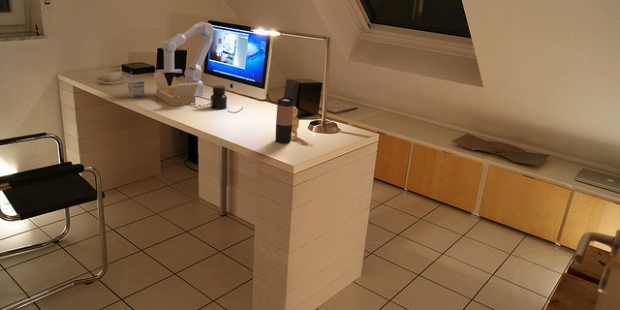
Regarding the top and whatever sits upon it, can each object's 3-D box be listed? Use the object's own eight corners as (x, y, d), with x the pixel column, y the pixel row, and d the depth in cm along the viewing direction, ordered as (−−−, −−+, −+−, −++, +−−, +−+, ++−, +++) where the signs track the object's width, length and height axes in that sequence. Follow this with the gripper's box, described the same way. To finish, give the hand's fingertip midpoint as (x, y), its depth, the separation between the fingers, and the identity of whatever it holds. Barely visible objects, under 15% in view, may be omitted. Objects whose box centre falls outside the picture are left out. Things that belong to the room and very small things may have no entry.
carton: (179, 95, 291) (179, 87, 289) (195, 104, 275) (195, 95, 273) (156, 97, 282) (156, 88, 280) (171, 106, 266) (171, 97, 264)
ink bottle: (216, 104, 278) (216, 84, 274) (229, 107, 275) (230, 86, 271) (207, 108, 269) (207, 86, 265) (221, 110, 266) (221, 89, 262)
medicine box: (132, 98, 276) (132, 83, 273) (128, 96, 278) (127, 81, 275) (144, 96, 282) (144, 81, 279) (140, 94, 284) (139, 80, 281)
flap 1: (158, 88, 280) (158, 88, 281) (178, 86, 288) (178, 87, 288) (153, 73, 283) (153, 73, 283) (173, 72, 290) (173, 72, 291)
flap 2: (193, 94, 273) (193, 95, 273) (172, 96, 265) (172, 96, 265) (198, 83, 265) (198, 83, 265) (177, 84, 258) (177, 85, 258)
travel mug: (291, 144, 222) (294, 101, 215) (274, 143, 221) (277, 100, 215) (290, 139, 229) (294, 97, 223) (274, 138, 229) (277, 96, 222)
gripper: (159, 63, 271) (159, 87, 275) (183, 63, 279) (183, 86, 284) (154, 61, 276) (155, 85, 280) (179, 61, 284) (179, 83, 289)
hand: (169, 85), depth 282 cm, fingers closed
